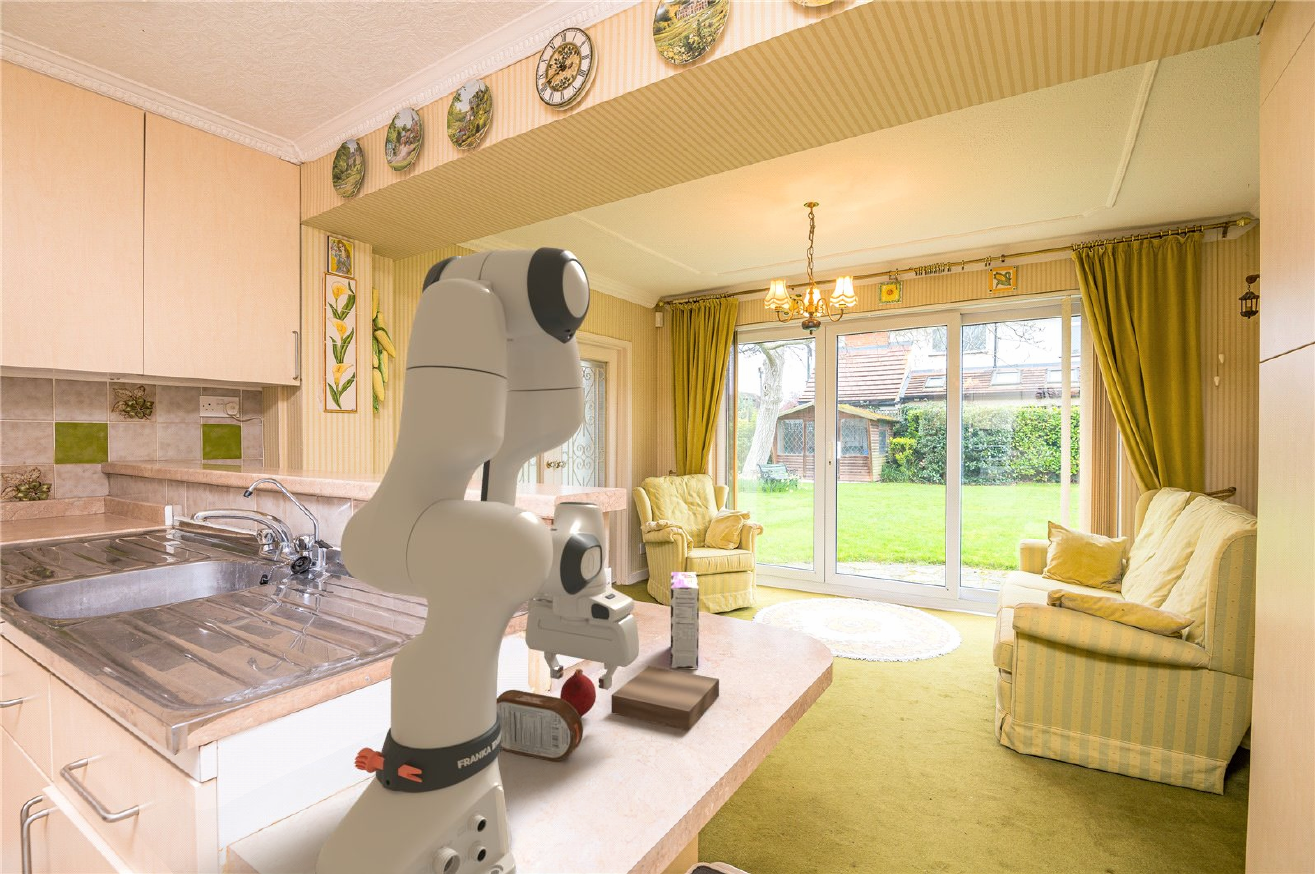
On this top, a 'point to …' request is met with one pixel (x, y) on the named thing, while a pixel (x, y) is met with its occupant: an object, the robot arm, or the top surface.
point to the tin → (538, 725)
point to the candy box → (684, 619)
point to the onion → (579, 692)
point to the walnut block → (666, 697)
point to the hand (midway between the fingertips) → (580, 682)
